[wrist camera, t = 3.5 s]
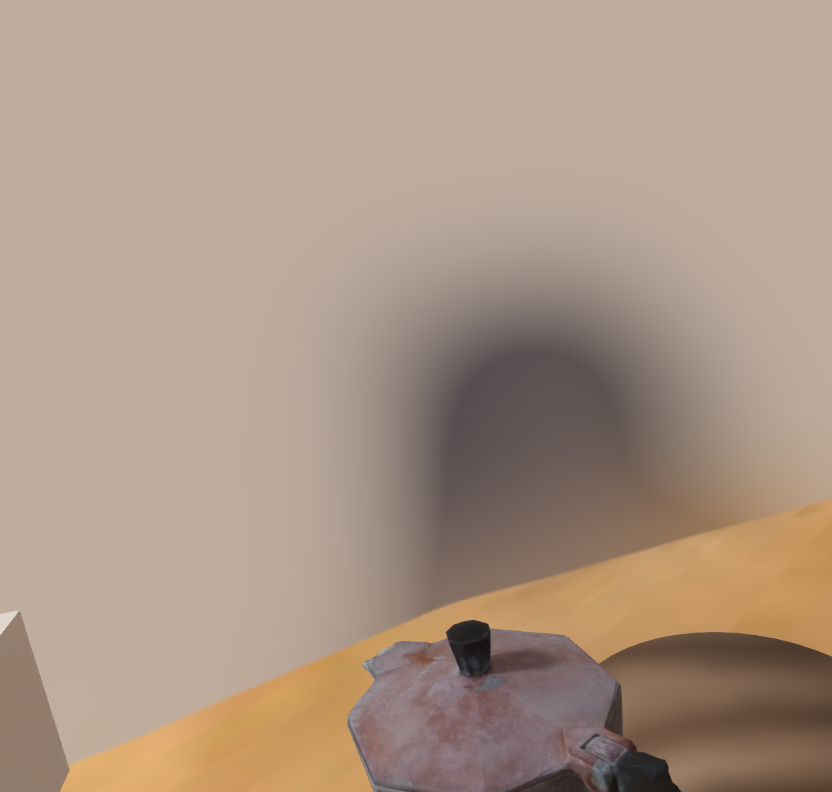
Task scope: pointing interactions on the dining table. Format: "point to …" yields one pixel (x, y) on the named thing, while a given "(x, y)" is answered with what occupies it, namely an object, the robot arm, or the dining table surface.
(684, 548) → the dining table surface
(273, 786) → the dining table surface
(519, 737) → the moka pot
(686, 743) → the disc
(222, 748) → the dining table surface
